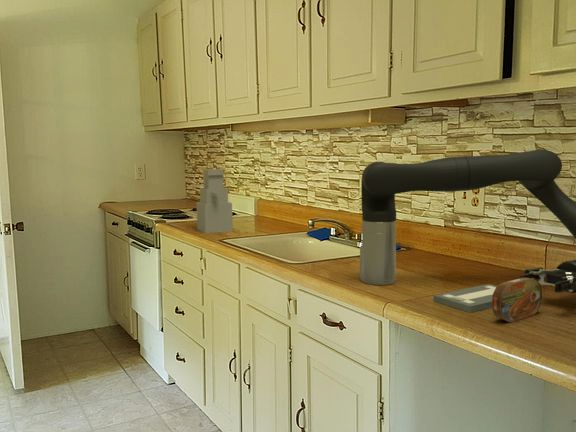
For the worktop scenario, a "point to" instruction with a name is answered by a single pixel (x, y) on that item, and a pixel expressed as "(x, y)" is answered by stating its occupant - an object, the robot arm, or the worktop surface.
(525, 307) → the tin
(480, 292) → the letter board
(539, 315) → the worktop surface
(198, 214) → the stacked tiered boxes
